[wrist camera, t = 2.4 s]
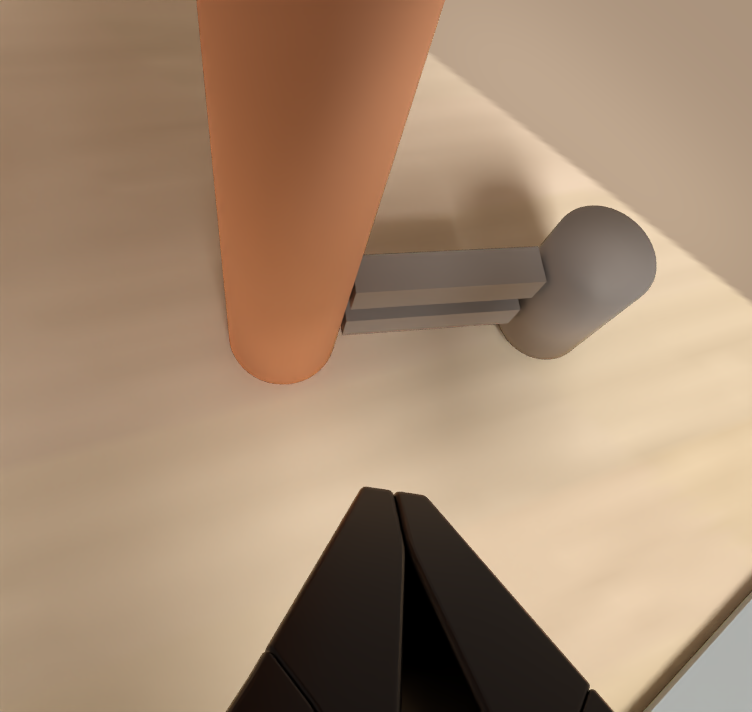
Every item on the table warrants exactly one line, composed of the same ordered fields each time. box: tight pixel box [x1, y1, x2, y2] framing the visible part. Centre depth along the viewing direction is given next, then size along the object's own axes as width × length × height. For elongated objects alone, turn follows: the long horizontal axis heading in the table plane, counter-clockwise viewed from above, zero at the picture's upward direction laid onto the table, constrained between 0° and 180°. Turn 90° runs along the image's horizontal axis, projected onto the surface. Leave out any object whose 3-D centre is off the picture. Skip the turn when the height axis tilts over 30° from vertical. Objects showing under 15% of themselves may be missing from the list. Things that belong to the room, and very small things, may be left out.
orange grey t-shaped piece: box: [197, 0, 656, 384], centre depth 14 cm, size 11×3×14 cm, turn 98°
